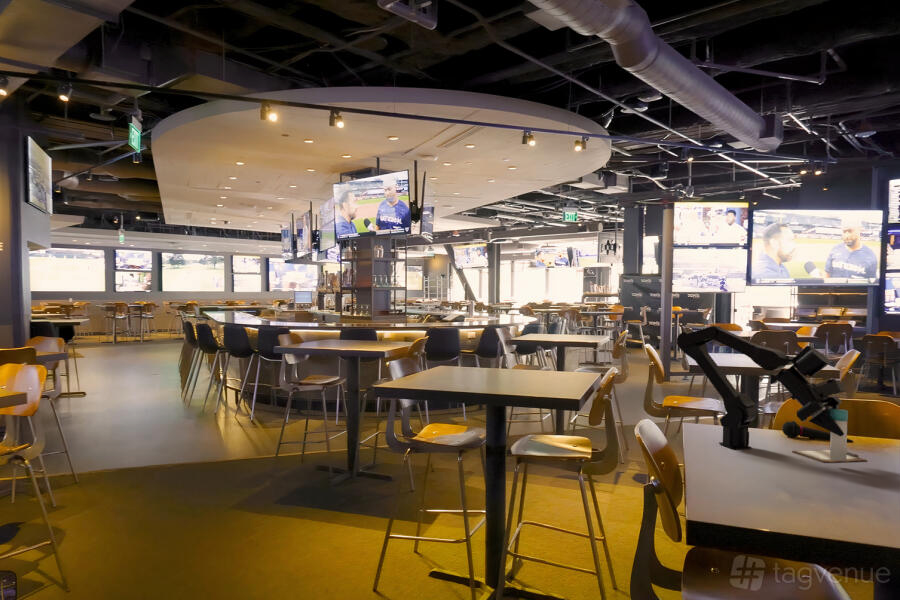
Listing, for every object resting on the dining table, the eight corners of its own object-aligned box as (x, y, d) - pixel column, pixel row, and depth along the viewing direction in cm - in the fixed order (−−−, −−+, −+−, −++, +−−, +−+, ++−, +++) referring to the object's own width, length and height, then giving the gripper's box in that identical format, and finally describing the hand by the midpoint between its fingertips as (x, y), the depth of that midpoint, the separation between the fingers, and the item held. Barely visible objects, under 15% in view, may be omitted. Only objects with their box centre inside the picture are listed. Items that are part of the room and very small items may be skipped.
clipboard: (823, 462, 155) (823, 458, 155) (792, 452, 166) (792, 448, 166) (866, 461, 158) (866, 457, 158) (833, 451, 169) (833, 447, 169)
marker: (838, 461, 149) (839, 411, 149) (825, 457, 152) (827, 408, 152) (850, 460, 149) (851, 411, 149) (838, 457, 153) (839, 408, 153)
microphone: (848, 451, 183) (779, 437, 189) (849, 433, 185) (780, 420, 191) (855, 449, 178) (784, 435, 184) (856, 431, 180) (785, 418, 186)
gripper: (811, 370, 148) (861, 420, 139) (833, 367, 160) (881, 412, 152) (777, 396, 154) (823, 445, 145) (801, 391, 166) (845, 436, 158)
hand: (844, 434), depth 150 cm, fingers closed on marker, 4 cm apart
